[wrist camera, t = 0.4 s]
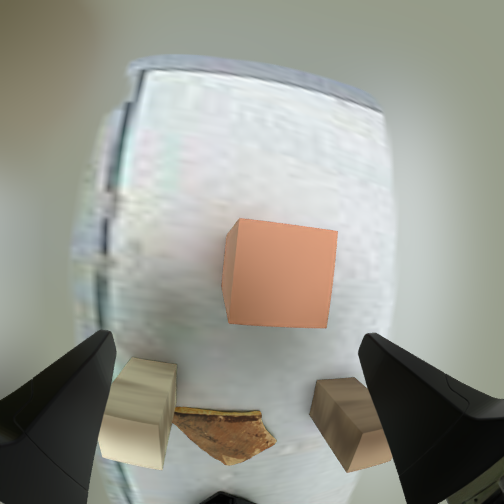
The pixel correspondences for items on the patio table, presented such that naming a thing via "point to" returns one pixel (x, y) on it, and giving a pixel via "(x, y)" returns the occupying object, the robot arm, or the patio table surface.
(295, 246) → the salmon orange block
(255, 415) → the shard
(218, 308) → the patio table surface
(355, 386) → the walnut block
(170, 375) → the birch block
